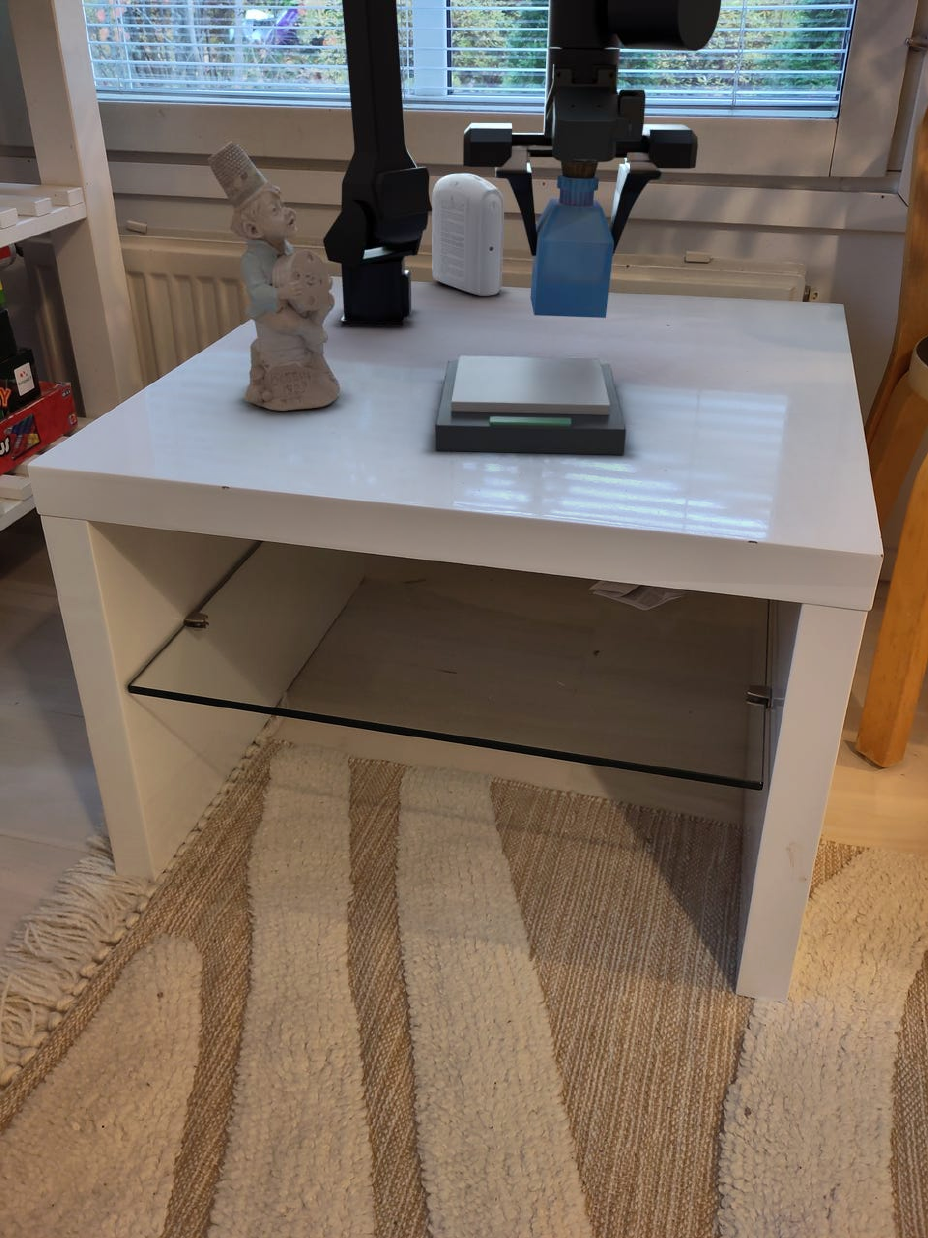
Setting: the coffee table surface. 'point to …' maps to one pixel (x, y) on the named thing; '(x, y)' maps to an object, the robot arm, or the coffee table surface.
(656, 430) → the coffee table surface
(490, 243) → the photo printer
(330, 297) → the figurine
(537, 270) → the perfume bottle
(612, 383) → the scale
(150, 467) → the coffee table surface
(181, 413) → the coffee table surface
